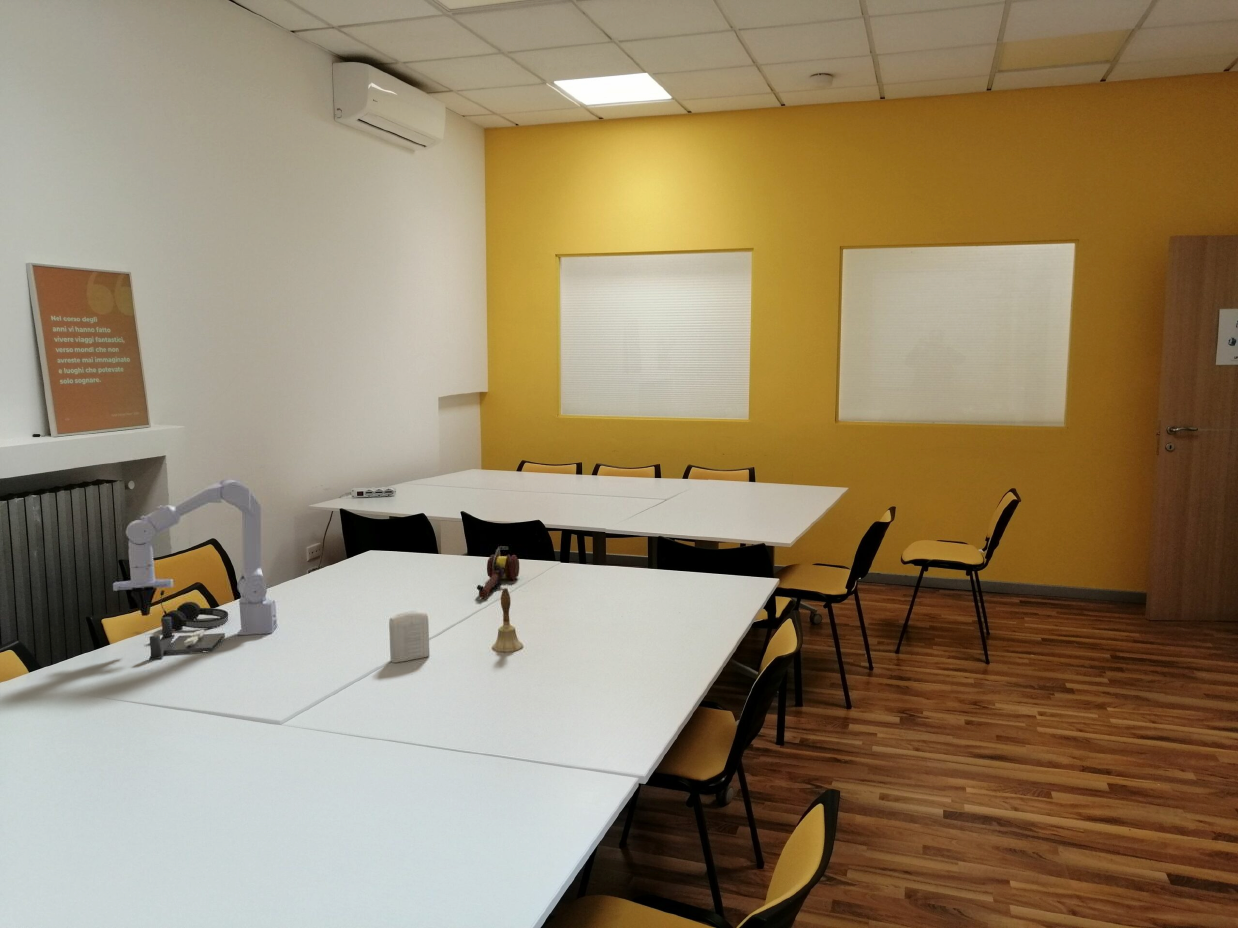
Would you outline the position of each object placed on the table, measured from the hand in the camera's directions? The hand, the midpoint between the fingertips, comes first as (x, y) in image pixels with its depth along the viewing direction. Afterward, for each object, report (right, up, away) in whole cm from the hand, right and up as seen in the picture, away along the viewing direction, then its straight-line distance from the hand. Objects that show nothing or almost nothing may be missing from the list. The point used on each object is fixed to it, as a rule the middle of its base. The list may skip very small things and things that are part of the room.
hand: (145, 614), depth 248 cm
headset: (+2, -7, +24) cm, 25 cm away
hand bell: (+98, -8, -3) cm, 98 cm away
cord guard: (+4, -9, +2) cm, 10 cm away
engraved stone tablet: (+74, -10, -11) cm, 75 cm away
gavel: (+86, -1, +61) cm, 106 cm away
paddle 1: (+12, -7, 0) cm, 14 cm away
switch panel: (+12, -9, +3) cm, 15 cm away
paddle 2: (+12, -7, +6) cm, 14 cm away
